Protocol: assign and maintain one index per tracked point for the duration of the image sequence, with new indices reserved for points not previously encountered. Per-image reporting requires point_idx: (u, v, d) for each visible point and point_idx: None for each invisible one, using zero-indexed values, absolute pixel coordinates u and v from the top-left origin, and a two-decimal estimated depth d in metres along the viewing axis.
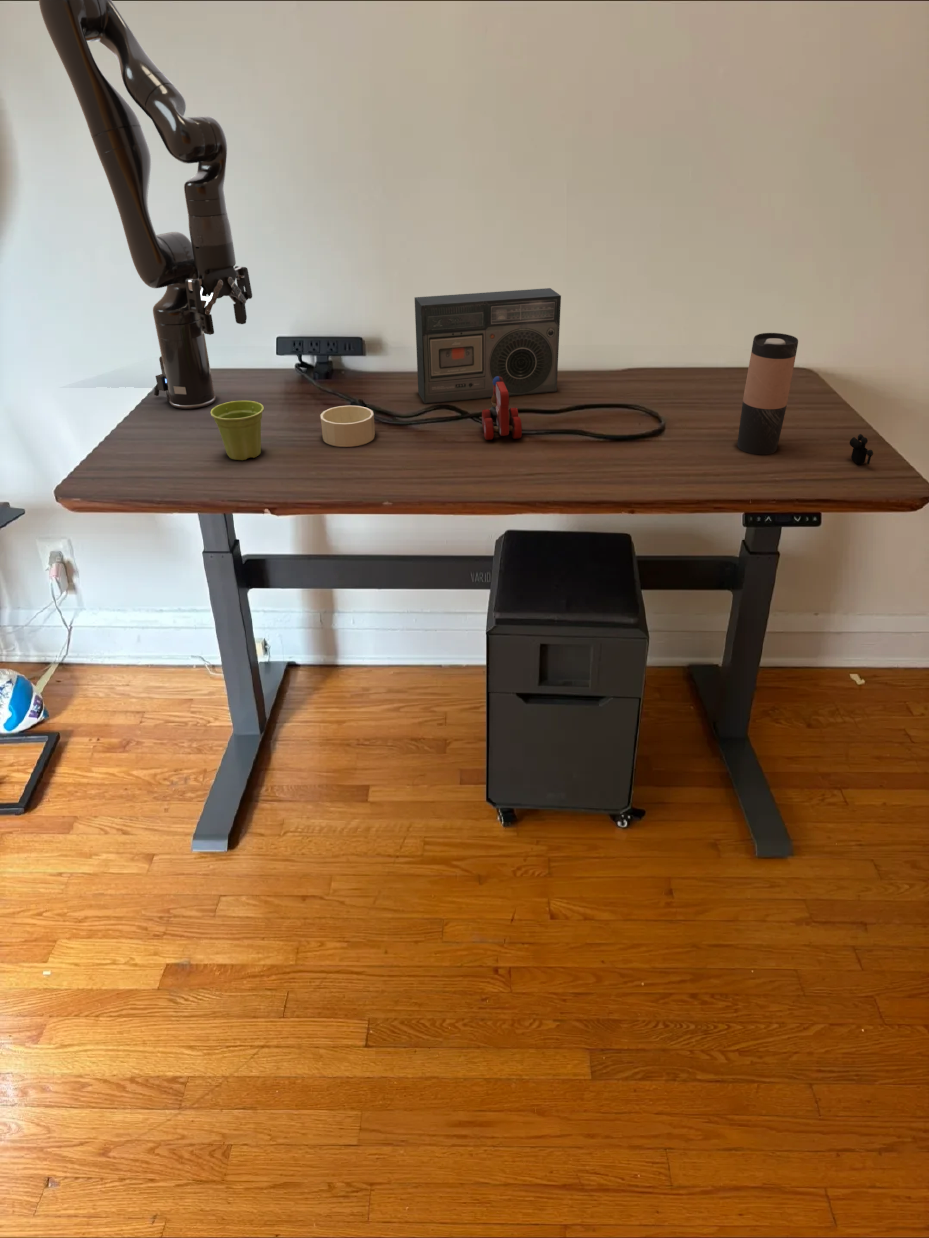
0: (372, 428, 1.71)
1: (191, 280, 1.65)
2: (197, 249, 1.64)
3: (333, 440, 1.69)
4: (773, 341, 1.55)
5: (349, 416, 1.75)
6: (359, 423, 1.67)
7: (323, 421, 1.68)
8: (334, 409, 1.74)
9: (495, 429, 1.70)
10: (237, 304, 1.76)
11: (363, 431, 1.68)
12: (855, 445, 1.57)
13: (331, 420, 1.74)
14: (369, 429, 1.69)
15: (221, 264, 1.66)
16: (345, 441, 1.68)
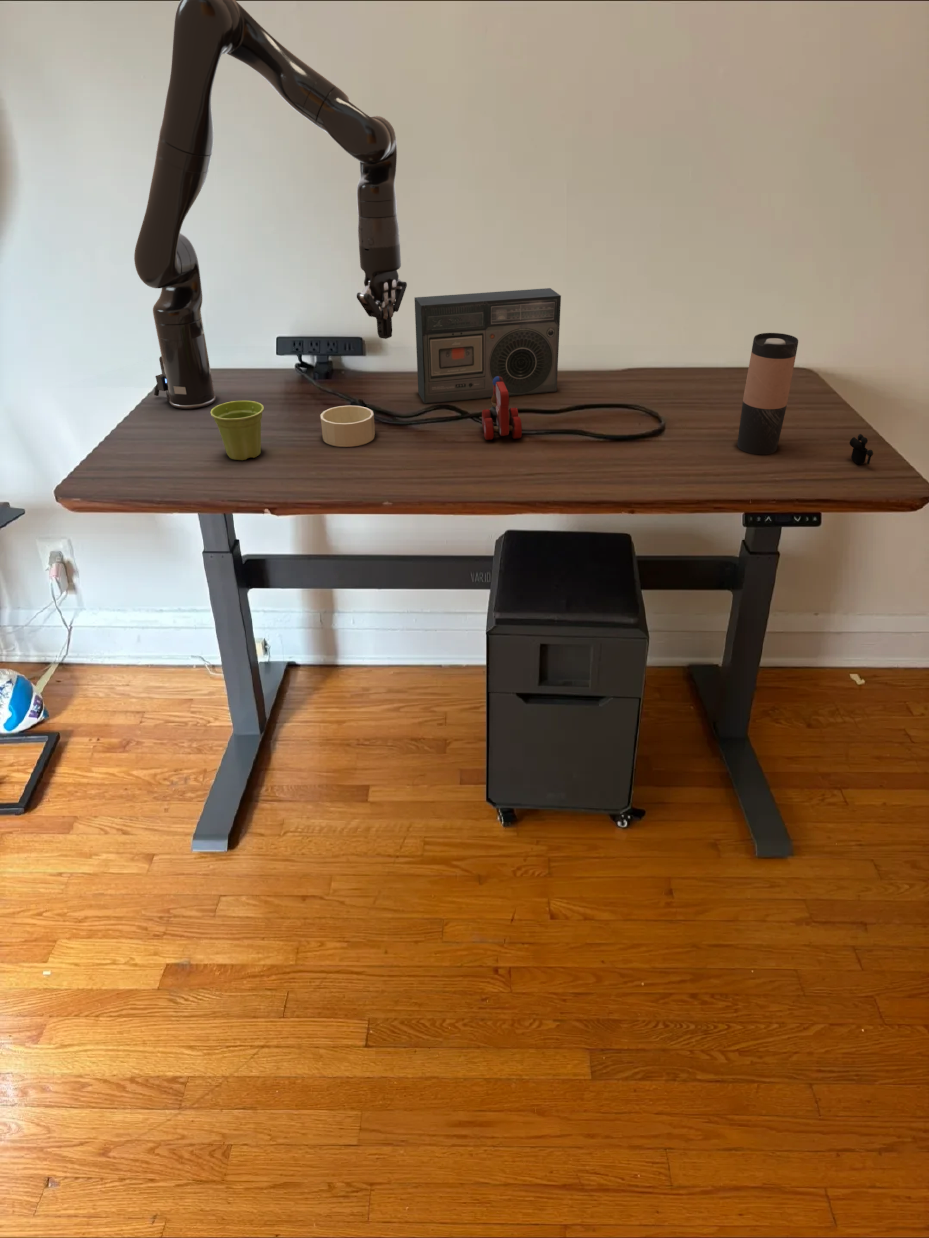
0: (372, 428, 1.71)
1: (362, 296, 1.64)
2: (366, 251, 1.62)
3: (333, 440, 1.69)
4: (773, 341, 1.55)
5: (349, 416, 1.75)
6: (359, 423, 1.67)
7: (323, 421, 1.68)
8: (334, 409, 1.74)
9: (495, 429, 1.70)
10: None
11: (363, 431, 1.68)
12: (855, 445, 1.57)
13: (331, 420, 1.74)
14: (369, 429, 1.69)
15: (389, 266, 1.63)
16: (345, 441, 1.68)
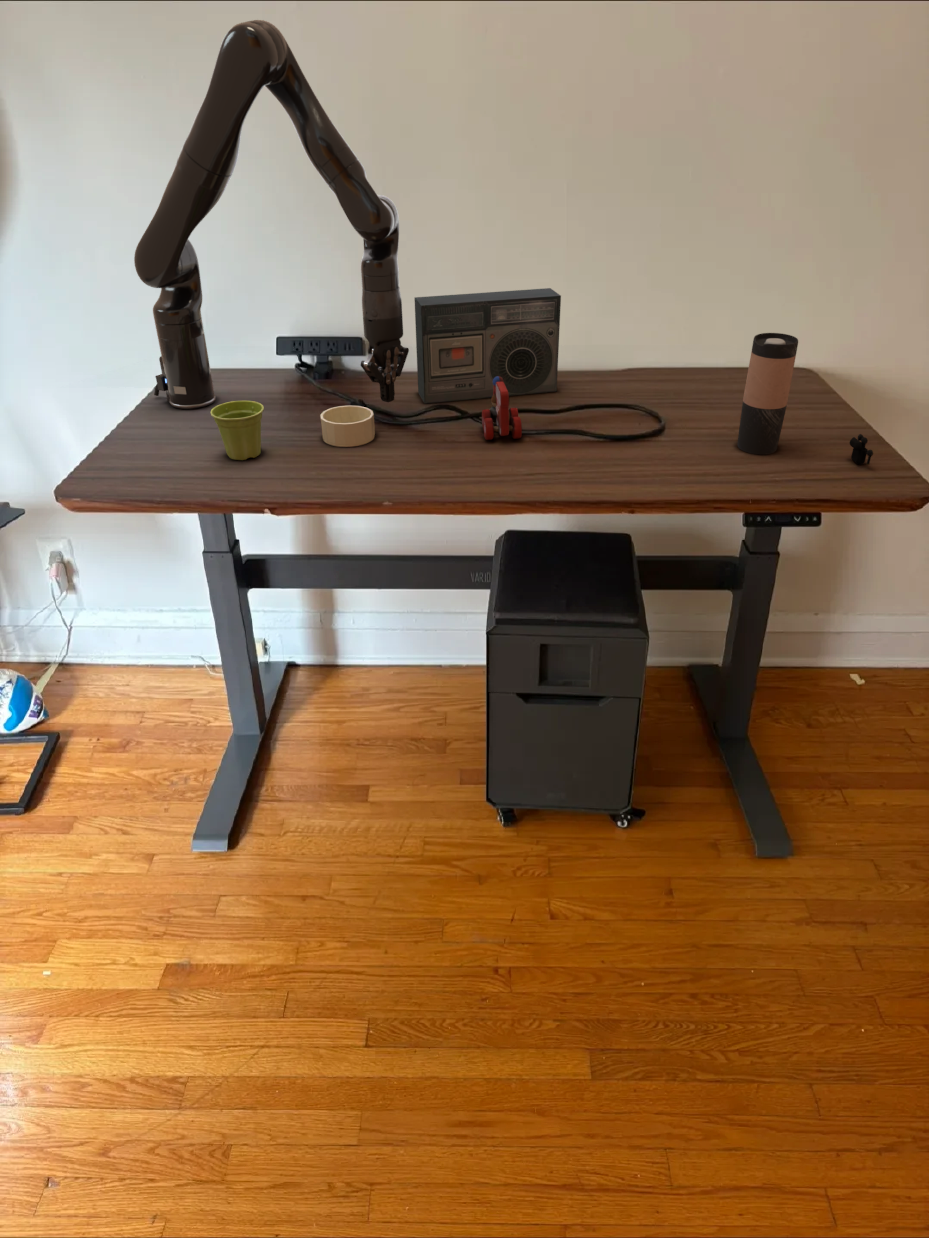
0: (372, 428, 1.71)
1: (366, 365, 1.71)
2: (370, 322, 1.68)
3: (333, 440, 1.69)
4: (773, 341, 1.55)
5: (349, 416, 1.75)
6: (359, 423, 1.67)
7: (323, 421, 1.68)
8: (334, 409, 1.74)
9: (495, 429, 1.70)
10: None
11: (363, 431, 1.68)
12: (855, 445, 1.57)
13: (331, 420, 1.74)
14: (369, 429, 1.69)
15: (392, 336, 1.70)
16: (345, 441, 1.68)
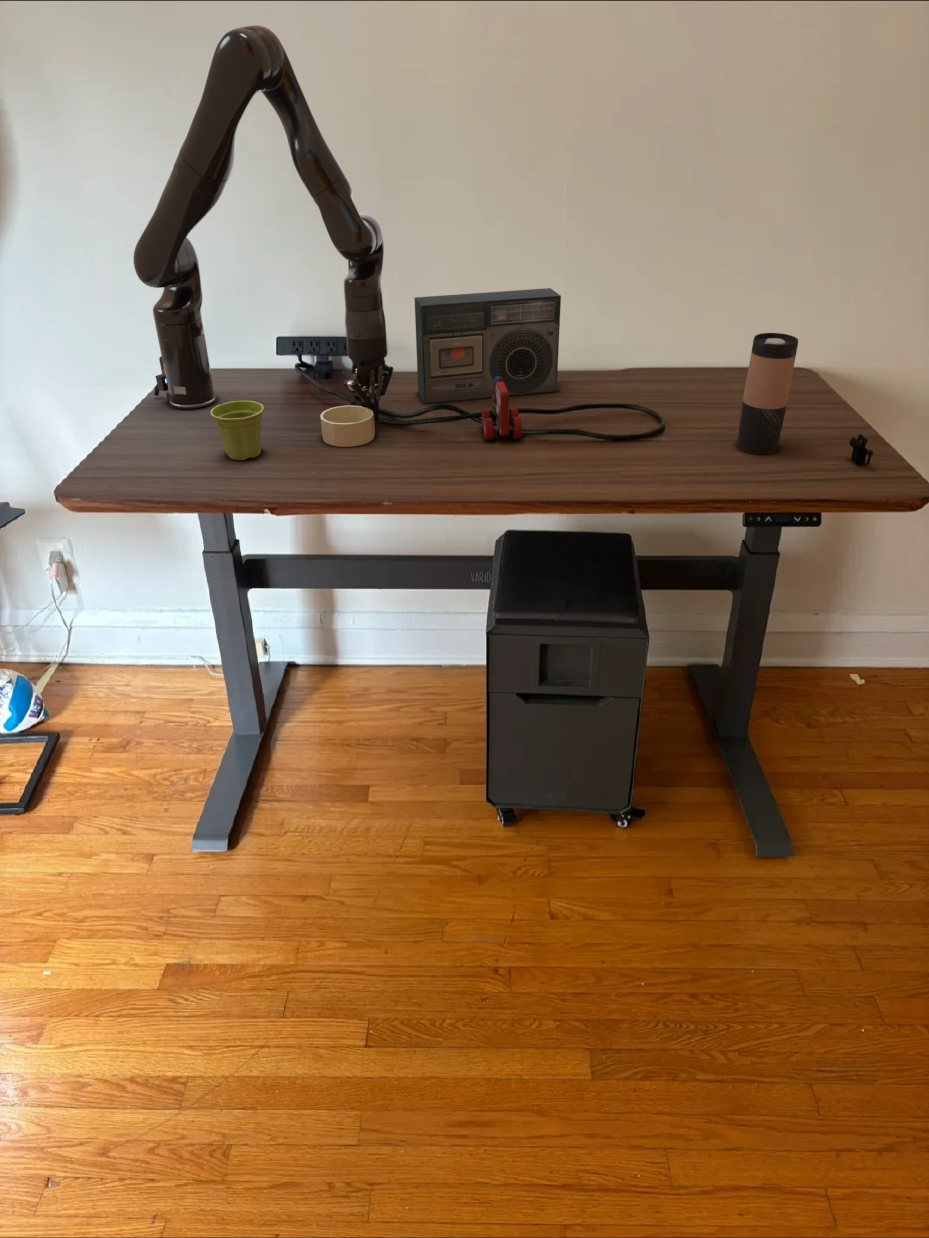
0: (372, 428, 1.71)
1: (350, 385, 1.68)
2: (353, 342, 1.66)
3: (333, 440, 1.69)
4: (773, 341, 1.55)
5: (349, 416, 1.75)
6: (359, 423, 1.67)
7: (323, 421, 1.68)
8: (334, 409, 1.73)
9: (495, 429, 1.70)
10: None
11: (363, 431, 1.68)
12: (855, 445, 1.57)
13: (331, 420, 1.74)
14: (369, 429, 1.69)
15: (376, 356, 1.67)
16: (345, 441, 1.68)
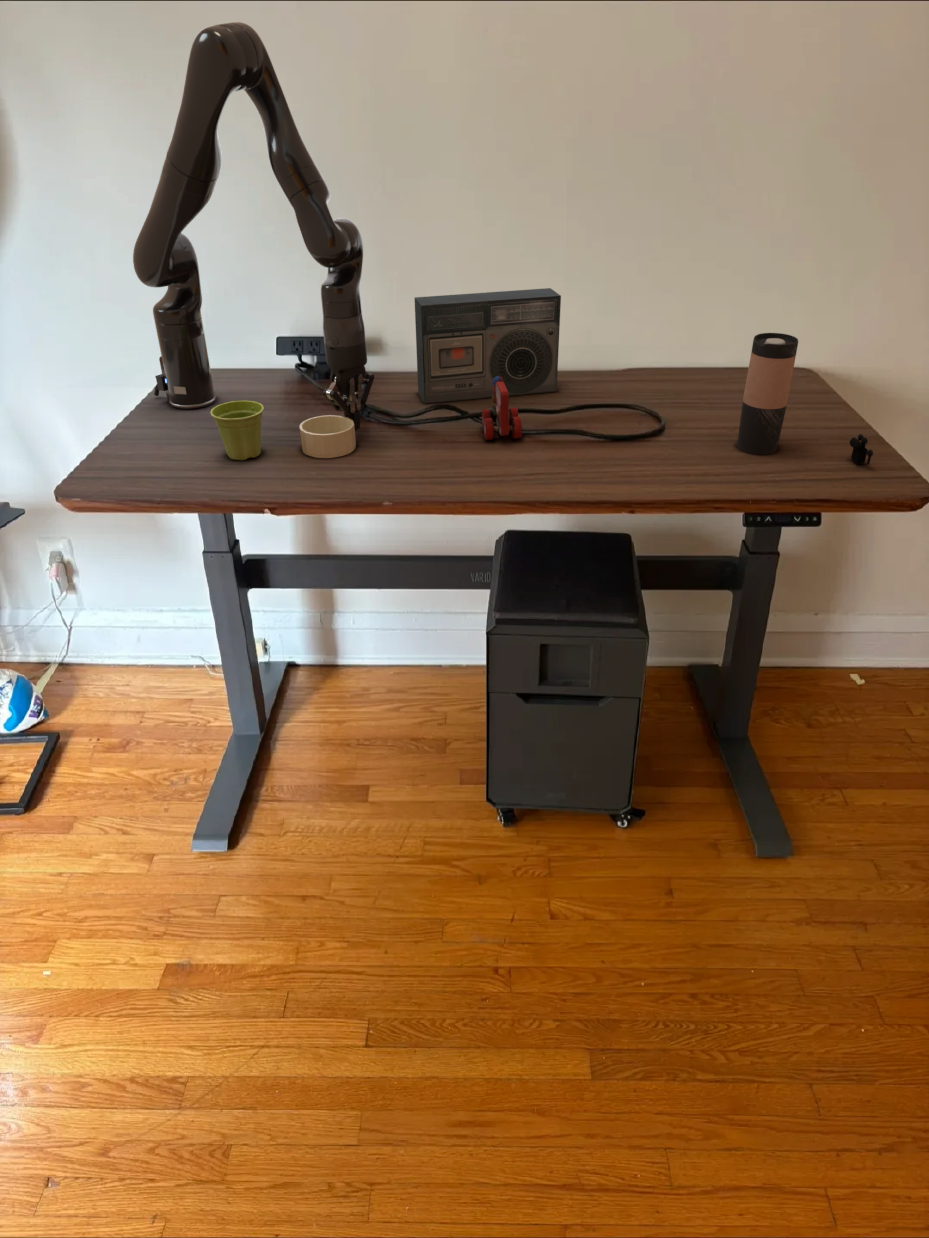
0: (353, 438, 1.66)
1: (329, 394, 1.64)
2: (332, 349, 1.62)
3: (312, 451, 1.64)
4: (773, 341, 1.55)
5: (329, 426, 1.71)
6: (339, 434, 1.63)
7: (302, 432, 1.64)
8: (314, 419, 1.69)
9: (495, 429, 1.70)
10: None
11: (343, 442, 1.64)
12: (855, 445, 1.57)
13: (311, 430, 1.70)
14: (349, 440, 1.65)
15: (355, 364, 1.63)
16: (325, 452, 1.64)
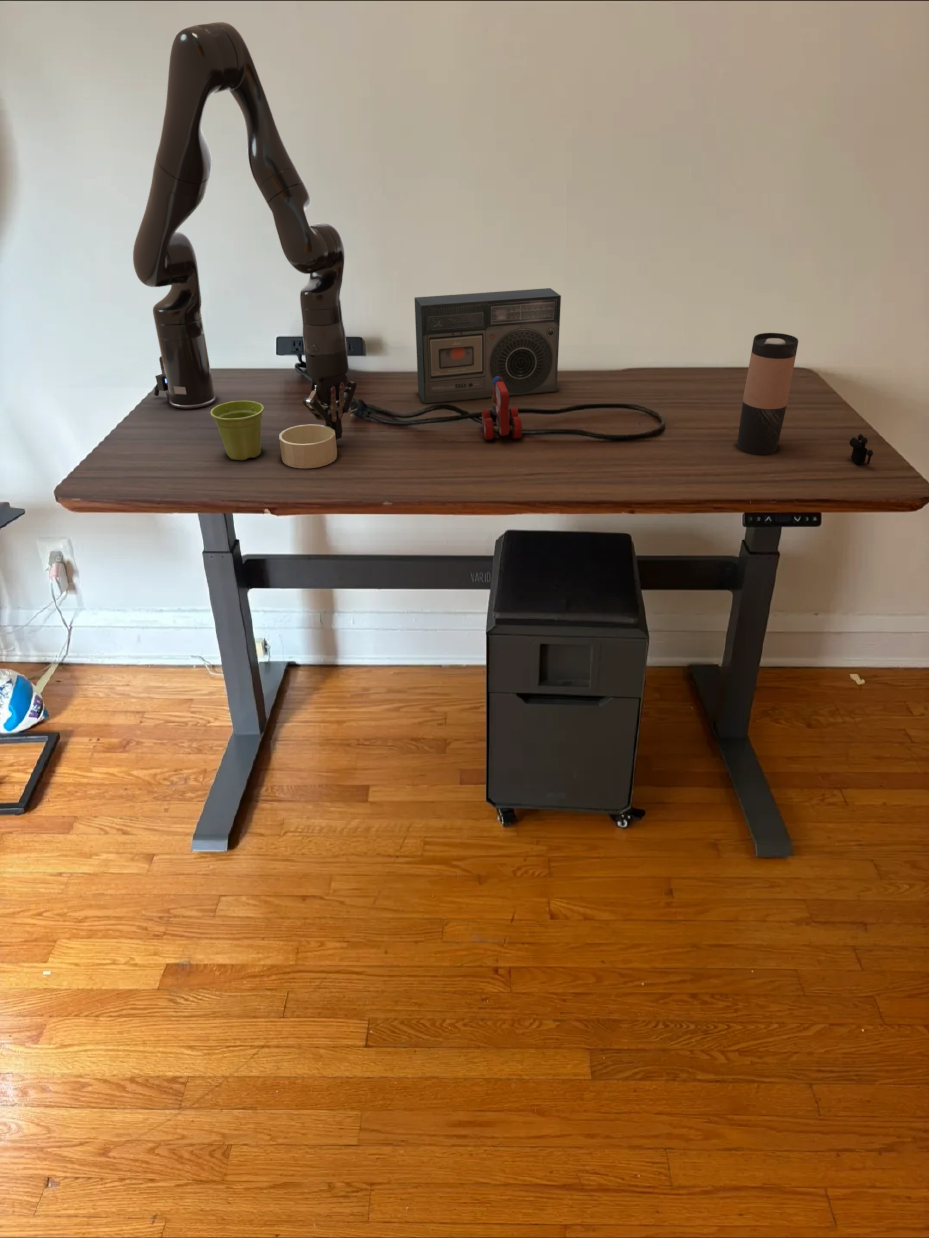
0: (334, 448, 1.62)
1: (309, 402, 1.60)
2: (311, 357, 1.58)
3: (292, 461, 1.60)
4: (773, 341, 1.55)
5: (310, 435, 1.67)
6: (319, 444, 1.59)
7: (281, 441, 1.60)
8: (294, 428, 1.65)
9: (495, 429, 1.70)
10: None
11: (324, 452, 1.60)
12: (855, 445, 1.57)
13: (291, 440, 1.66)
14: (330, 450, 1.61)
15: (336, 372, 1.59)
16: (305, 462, 1.60)
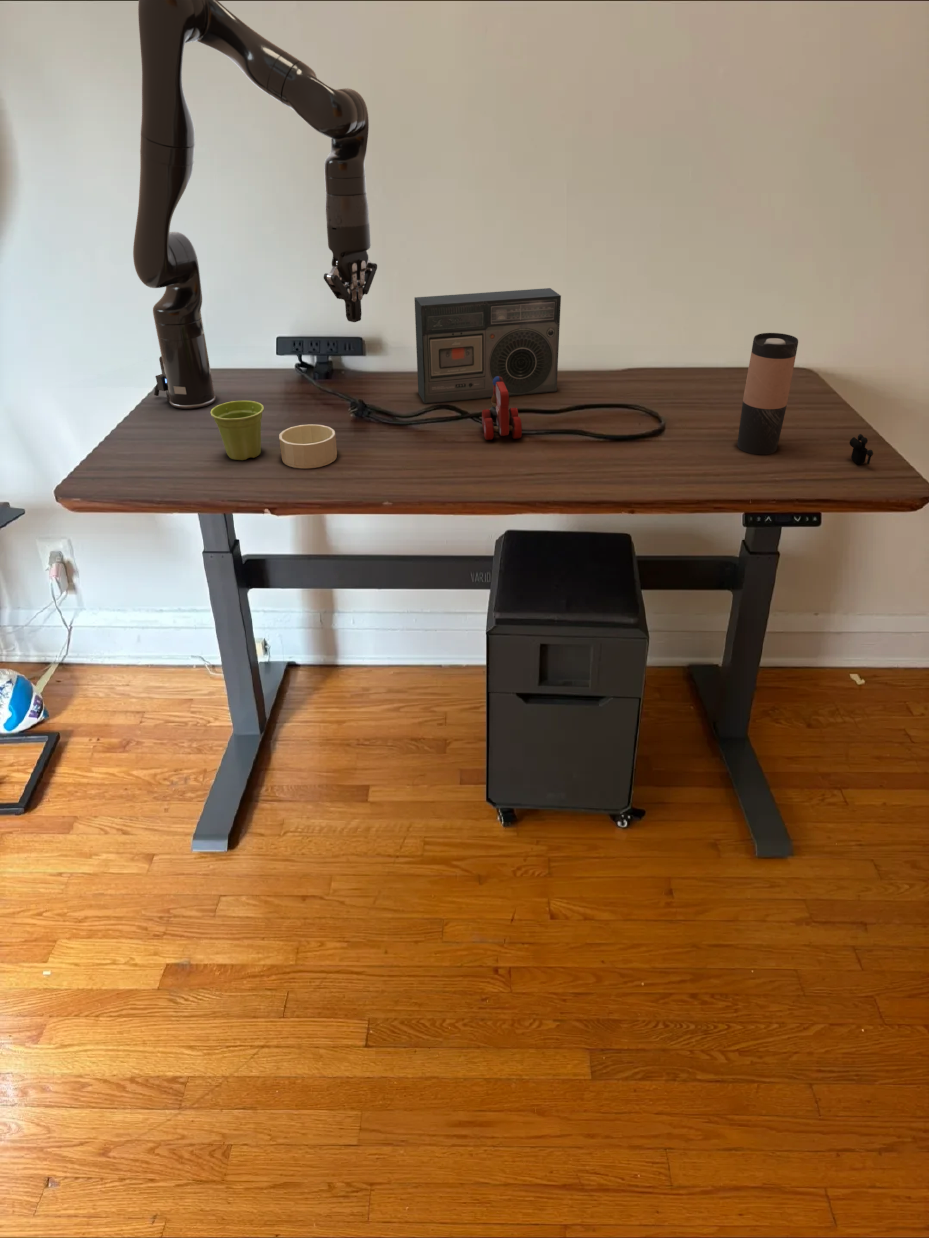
0: (334, 448, 1.62)
1: (329, 277, 1.58)
2: (334, 230, 1.56)
3: (292, 461, 1.60)
4: (773, 341, 1.55)
5: (310, 435, 1.67)
6: (319, 444, 1.59)
7: (281, 441, 1.60)
8: (294, 428, 1.65)
9: (495, 429, 1.70)
10: None
11: (324, 452, 1.60)
12: (855, 445, 1.57)
13: (291, 440, 1.66)
14: (330, 450, 1.61)
15: (358, 247, 1.57)
16: (305, 463, 1.60)
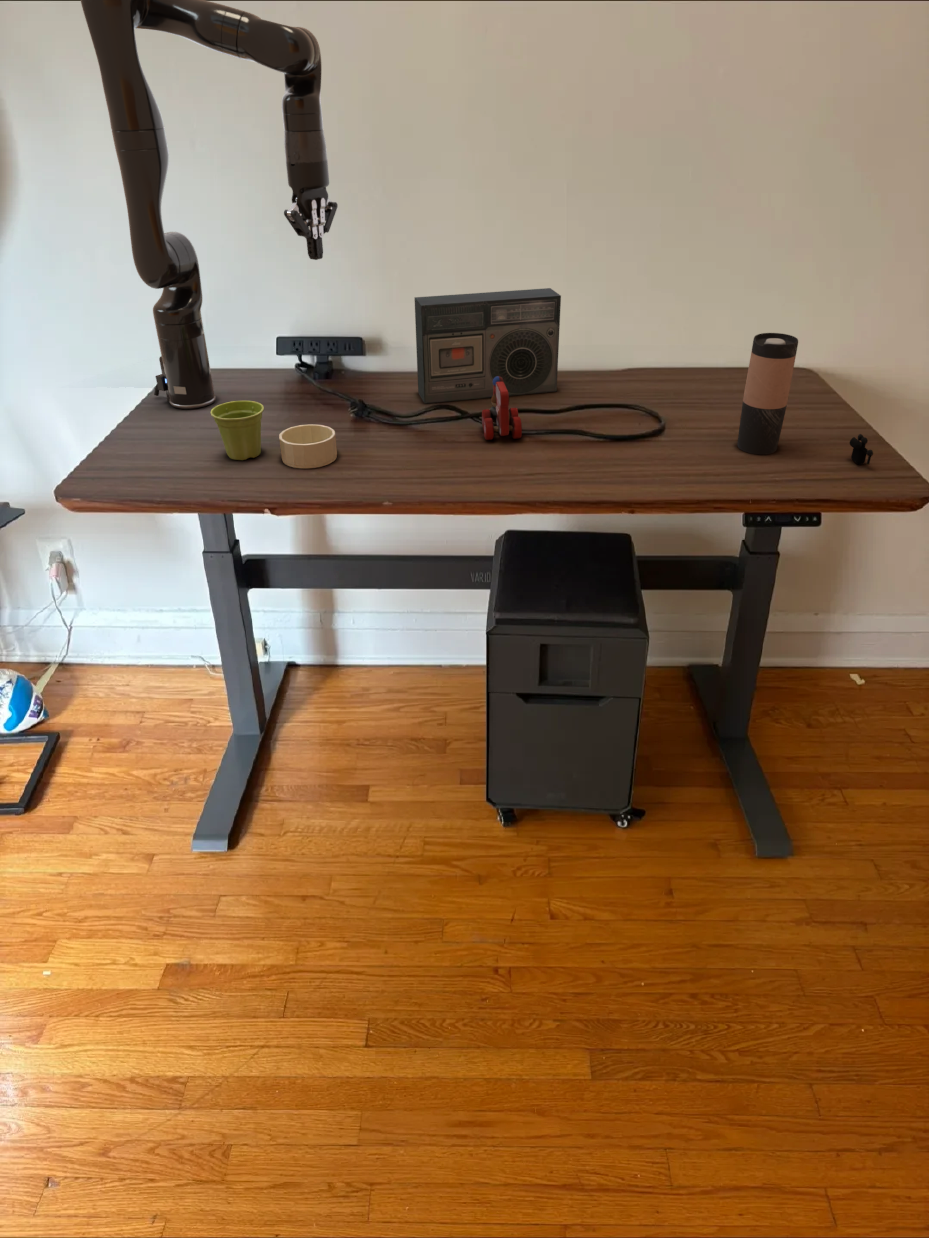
0: (334, 448, 1.62)
1: (289, 213, 1.63)
2: (293, 166, 1.61)
3: (292, 461, 1.60)
4: (773, 341, 1.55)
5: (310, 435, 1.67)
6: (319, 444, 1.59)
7: (281, 441, 1.60)
8: (294, 428, 1.65)
9: (495, 429, 1.70)
10: None
11: (324, 452, 1.60)
12: (855, 445, 1.57)
13: (291, 440, 1.66)
14: (330, 450, 1.61)
15: (316, 183, 1.62)
16: (305, 463, 1.60)
